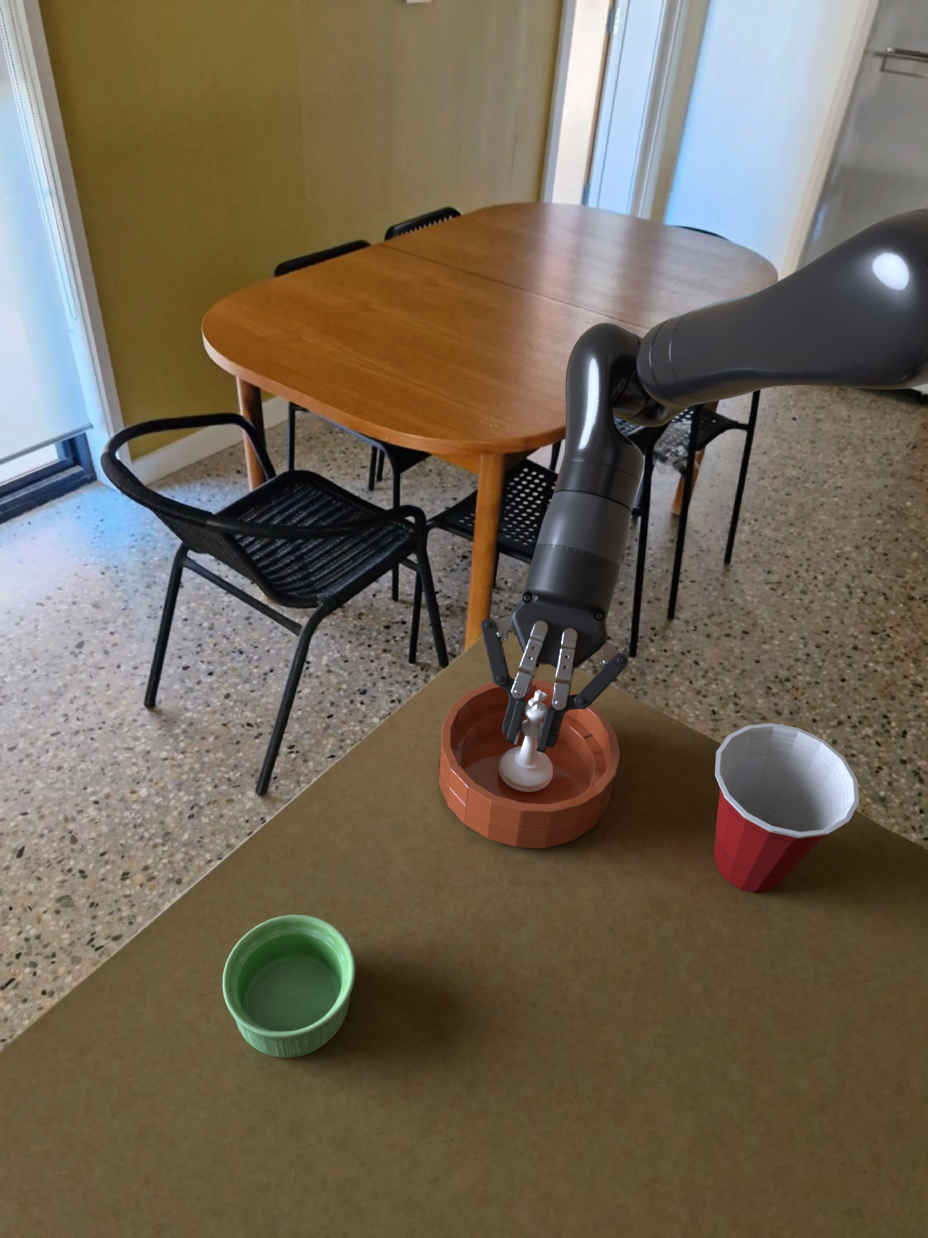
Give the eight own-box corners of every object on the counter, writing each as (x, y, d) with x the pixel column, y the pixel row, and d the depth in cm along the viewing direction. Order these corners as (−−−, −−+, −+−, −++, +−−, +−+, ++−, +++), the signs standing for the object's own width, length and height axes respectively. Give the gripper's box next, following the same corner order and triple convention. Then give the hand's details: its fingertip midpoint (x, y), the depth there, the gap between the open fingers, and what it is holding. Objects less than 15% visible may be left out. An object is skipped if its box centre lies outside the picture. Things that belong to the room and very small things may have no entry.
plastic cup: (656, 857, 76) (688, 763, 68) (729, 795, 82) (766, 702, 74) (764, 948, 70) (812, 856, 62) (835, 874, 76) (887, 781, 68)
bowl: (637, 770, 83) (649, 730, 80) (553, 884, 73) (562, 843, 70) (499, 696, 90) (504, 656, 86) (403, 791, 79) (405, 750, 76)
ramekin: (381, 991, 65) (381, 959, 62) (296, 1095, 59) (293, 1065, 56) (289, 925, 69) (286, 892, 66) (201, 1017, 63) (193, 985, 60)
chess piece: (487, 766, 81) (497, 687, 74) (527, 742, 83) (540, 664, 77) (524, 801, 78) (537, 722, 72) (563, 775, 81) (580, 696, 74)
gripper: (496, 525, 75) (441, 725, 73) (659, 564, 72) (604, 772, 71) (507, 544, 82) (457, 726, 81) (655, 580, 79) (606, 769, 78)
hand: (526, 746), depth 76 cm, fingers closed on chess piece
